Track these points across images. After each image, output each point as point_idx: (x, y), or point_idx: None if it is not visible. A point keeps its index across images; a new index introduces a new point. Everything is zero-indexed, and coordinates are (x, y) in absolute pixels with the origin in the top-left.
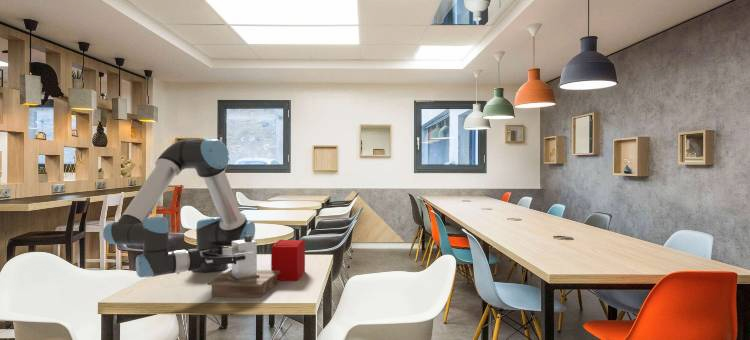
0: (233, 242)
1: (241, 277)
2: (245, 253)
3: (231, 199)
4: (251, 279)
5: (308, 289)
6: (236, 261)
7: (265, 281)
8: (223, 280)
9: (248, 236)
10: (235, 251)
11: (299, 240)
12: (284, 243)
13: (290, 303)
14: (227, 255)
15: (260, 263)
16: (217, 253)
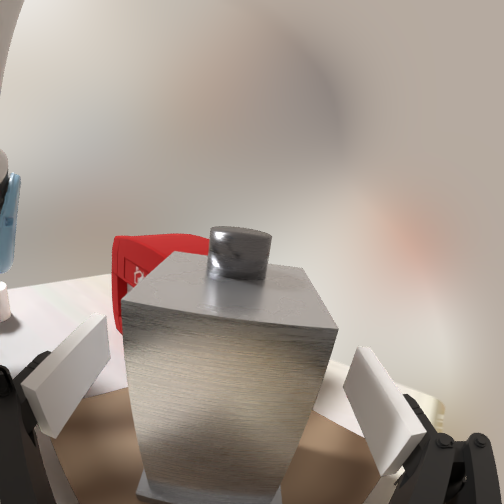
0: (176, 319)
1: (280, 493)
2: (390, 382)
3: (4, 49)
4: (294, 464)
5: (334, 374)
6: (395, 468)
7: (353, 433)
8: None
9: (267, 236)
10: (232, 400)
11: (187, 235)
12: (190, 251)
13: (436, 429)
14: (442, 491)
15: (19, 304)
16: (37, 468)
